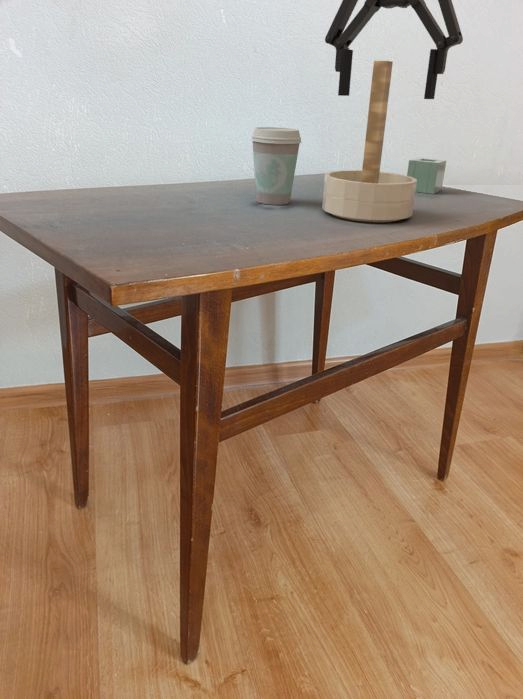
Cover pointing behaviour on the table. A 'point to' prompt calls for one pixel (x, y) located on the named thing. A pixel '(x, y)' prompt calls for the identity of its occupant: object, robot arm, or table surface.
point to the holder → (427, 174)
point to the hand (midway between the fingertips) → (384, 97)
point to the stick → (376, 121)
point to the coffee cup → (275, 163)
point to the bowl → (368, 196)
